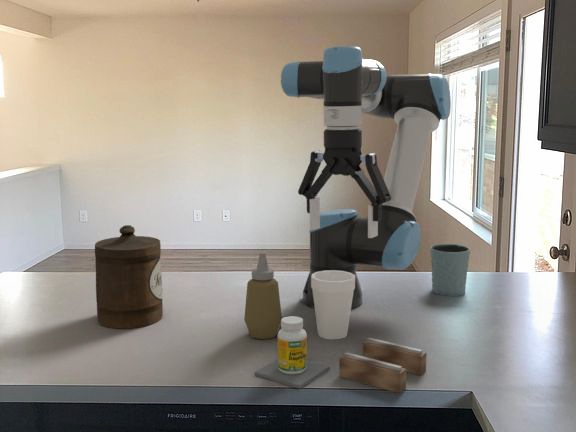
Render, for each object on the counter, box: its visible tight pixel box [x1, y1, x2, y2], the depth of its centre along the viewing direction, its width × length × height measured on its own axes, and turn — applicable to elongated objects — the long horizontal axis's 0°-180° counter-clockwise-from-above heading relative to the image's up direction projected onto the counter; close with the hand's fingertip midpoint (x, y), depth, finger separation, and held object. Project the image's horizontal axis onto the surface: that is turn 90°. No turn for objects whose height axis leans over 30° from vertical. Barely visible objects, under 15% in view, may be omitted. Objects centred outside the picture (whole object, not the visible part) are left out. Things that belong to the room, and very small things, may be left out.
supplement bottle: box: [277, 315, 308, 375], centre depth 112 cm, size 5×5×10 cm
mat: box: [254, 358, 331, 389], centre depth 113 cm, size 10×10×1 cm
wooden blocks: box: [338, 337, 428, 394], centre depth 112 cm, size 12×11×4 cm
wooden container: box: [94, 224, 164, 330], centre depth 141 cm, size 15×15×22 cm
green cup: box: [429, 243, 471, 297], centre depth 162 cm, size 10×10×12 cm
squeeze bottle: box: [243, 252, 283, 340], centre depth 130 cm, size 8×8×18 cm
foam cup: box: [311, 270, 355, 340], centre depth 131 cm, size 10×9×13 cm
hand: (343, 232), depth 125 cm, fingers open, 13 cm apart
